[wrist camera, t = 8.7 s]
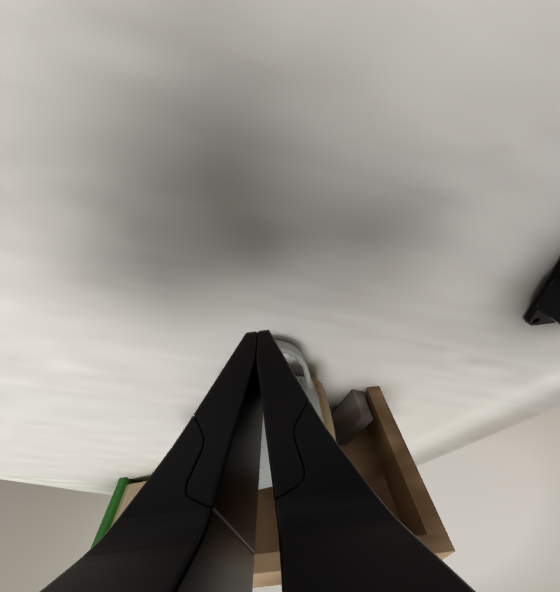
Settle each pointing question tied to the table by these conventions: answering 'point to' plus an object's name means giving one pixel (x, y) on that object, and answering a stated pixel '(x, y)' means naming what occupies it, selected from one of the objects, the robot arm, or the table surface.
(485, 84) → the table surface
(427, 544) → the wooden storage tray
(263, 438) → the ceramic mug
